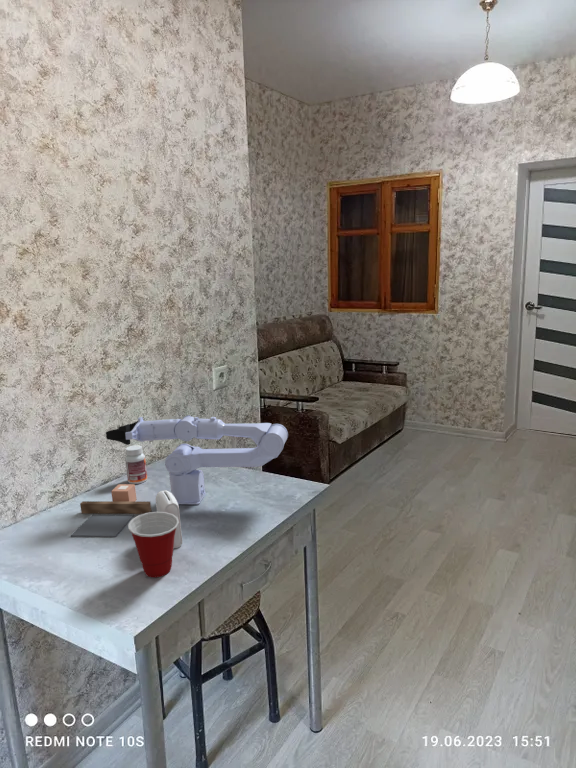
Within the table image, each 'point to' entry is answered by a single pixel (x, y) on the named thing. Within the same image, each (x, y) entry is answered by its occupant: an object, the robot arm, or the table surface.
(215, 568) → the table surface
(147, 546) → the plastic cup
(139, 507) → the walnut board
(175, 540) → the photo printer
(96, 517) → the slate mat
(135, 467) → the pill bottle
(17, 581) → the table surface
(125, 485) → the marked cube
